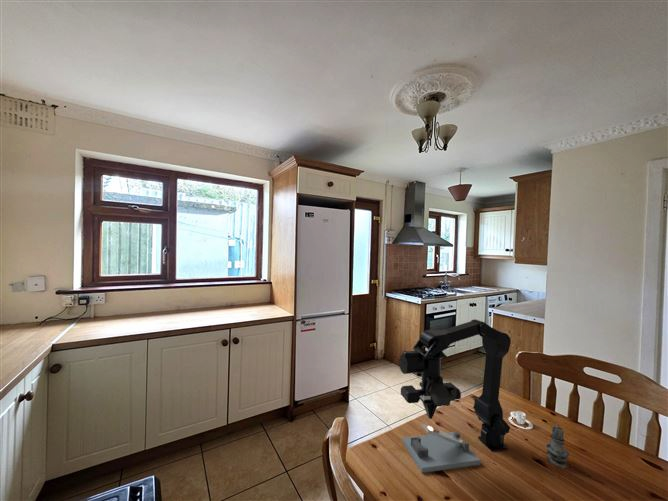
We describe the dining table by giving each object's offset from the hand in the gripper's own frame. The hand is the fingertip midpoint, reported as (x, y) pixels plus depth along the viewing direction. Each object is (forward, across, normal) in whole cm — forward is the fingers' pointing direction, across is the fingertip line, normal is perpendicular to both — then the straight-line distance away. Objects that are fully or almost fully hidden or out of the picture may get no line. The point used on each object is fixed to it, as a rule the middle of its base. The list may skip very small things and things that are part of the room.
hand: (429, 418), depth 87 cm
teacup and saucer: (+13, +48, +10) cm, 51 cm away
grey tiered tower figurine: (+12, +40, -9) cm, 43 cm away
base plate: (+12, +4, 0) cm, 12 cm away
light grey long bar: (+7, +5, 0) cm, 9 cm away
